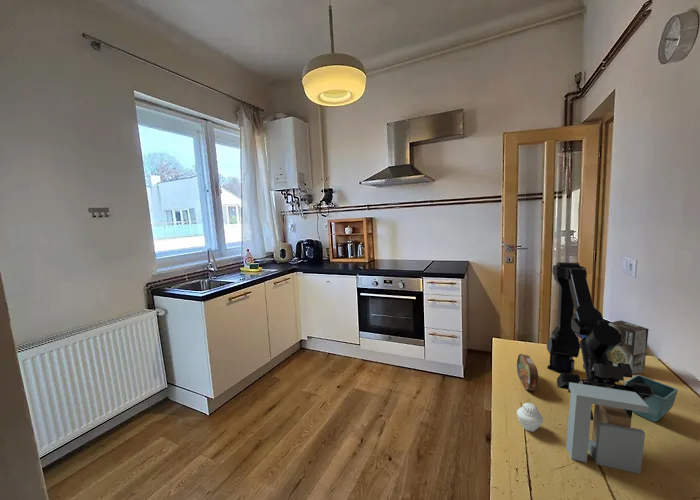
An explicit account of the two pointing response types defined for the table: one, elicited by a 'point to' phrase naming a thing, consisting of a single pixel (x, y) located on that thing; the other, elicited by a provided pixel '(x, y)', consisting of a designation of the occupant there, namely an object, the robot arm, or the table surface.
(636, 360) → the coffee box
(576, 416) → the grey gallows bracket
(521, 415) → the muffin
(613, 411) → the brown wooden block
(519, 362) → the tin
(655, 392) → the flower pot
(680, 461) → the table surface
